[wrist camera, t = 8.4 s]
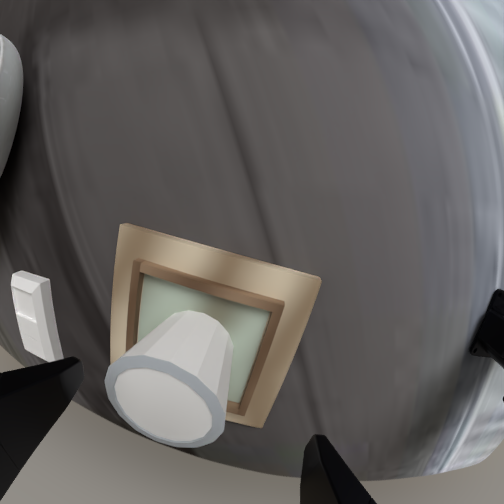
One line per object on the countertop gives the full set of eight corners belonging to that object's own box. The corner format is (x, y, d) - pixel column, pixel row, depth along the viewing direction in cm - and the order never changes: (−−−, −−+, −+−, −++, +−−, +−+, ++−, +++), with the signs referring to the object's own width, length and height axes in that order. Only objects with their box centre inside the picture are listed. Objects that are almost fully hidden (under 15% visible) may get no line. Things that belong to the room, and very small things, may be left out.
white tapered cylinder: (184, 281, 18) (135, 328, 11) (263, 346, 18) (254, 417, 11) (136, 342, 19) (89, 394, 12) (205, 395, 20) (181, 461, 13)
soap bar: (37, 343, 23) (23, 353, 20) (24, 269, 21) (6, 276, 18) (65, 357, 23) (51, 369, 20) (52, 278, 21) (33, 286, 18)
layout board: (319, 276, 18) (323, 285, 16) (262, 420, 21) (261, 434, 19) (127, 223, 18) (114, 225, 17) (116, 371, 22) (107, 382, 20)
